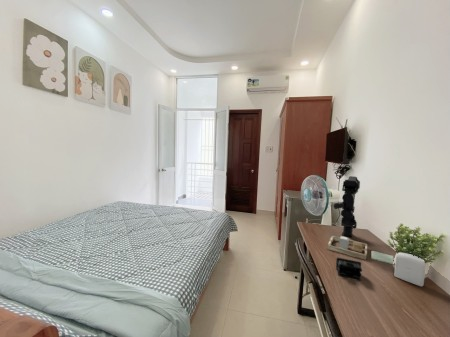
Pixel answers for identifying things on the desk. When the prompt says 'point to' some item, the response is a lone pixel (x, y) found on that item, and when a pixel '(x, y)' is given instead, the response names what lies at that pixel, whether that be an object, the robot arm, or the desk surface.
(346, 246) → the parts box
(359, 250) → the oak cube
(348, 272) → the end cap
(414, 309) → the desk surface
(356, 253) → the corral
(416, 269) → the photo printer
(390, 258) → the pad
